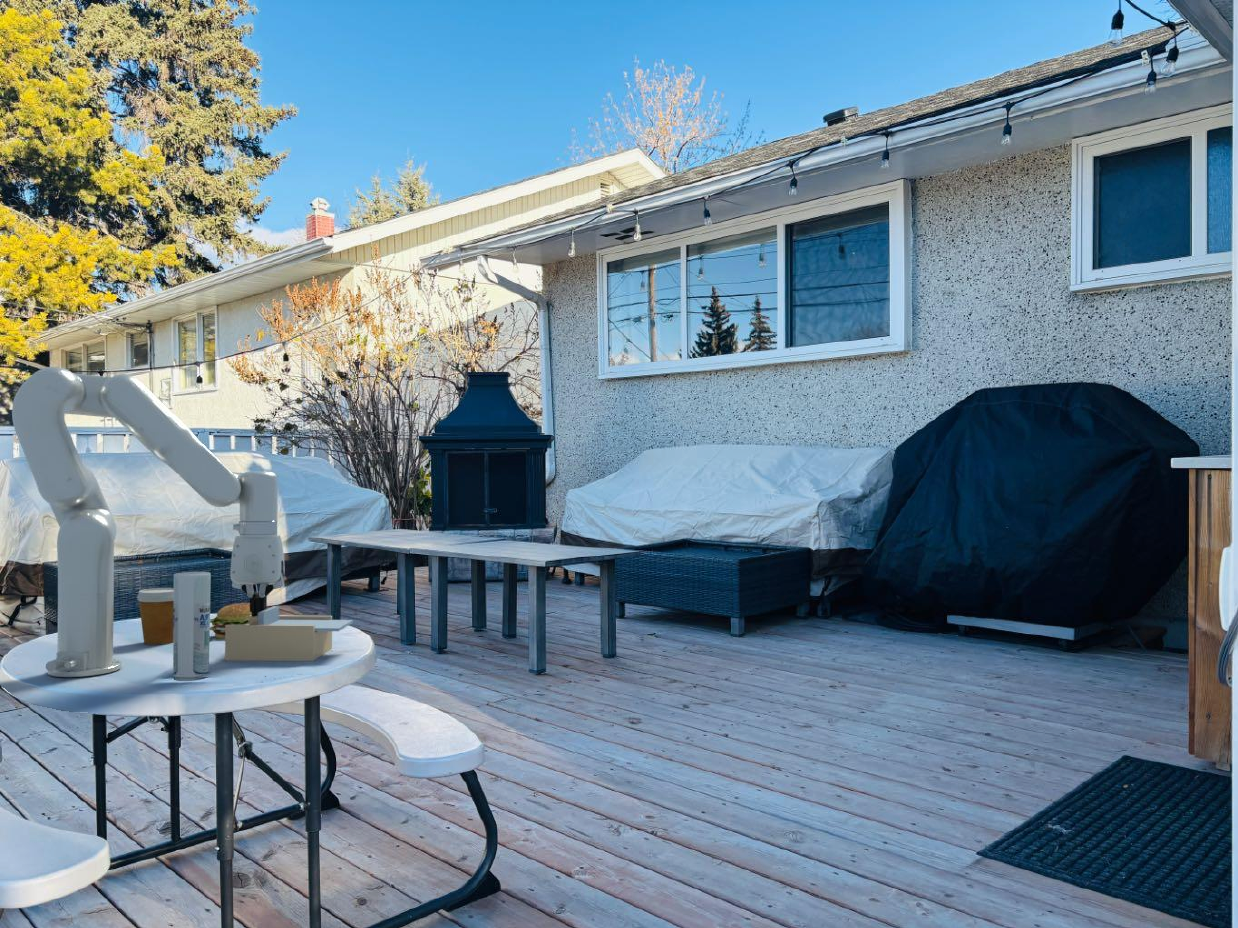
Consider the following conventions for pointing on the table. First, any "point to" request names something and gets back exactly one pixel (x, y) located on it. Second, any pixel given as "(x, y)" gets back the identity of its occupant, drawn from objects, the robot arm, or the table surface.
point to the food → (230, 618)
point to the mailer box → (276, 641)
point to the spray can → (191, 625)
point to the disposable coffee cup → (157, 615)
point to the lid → (300, 621)
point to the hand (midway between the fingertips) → (258, 615)
